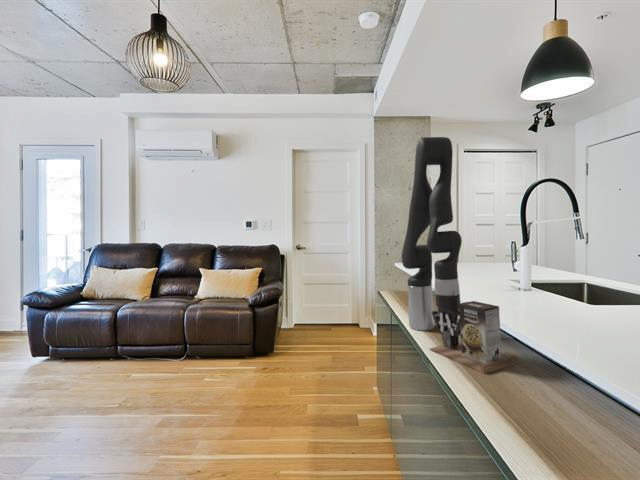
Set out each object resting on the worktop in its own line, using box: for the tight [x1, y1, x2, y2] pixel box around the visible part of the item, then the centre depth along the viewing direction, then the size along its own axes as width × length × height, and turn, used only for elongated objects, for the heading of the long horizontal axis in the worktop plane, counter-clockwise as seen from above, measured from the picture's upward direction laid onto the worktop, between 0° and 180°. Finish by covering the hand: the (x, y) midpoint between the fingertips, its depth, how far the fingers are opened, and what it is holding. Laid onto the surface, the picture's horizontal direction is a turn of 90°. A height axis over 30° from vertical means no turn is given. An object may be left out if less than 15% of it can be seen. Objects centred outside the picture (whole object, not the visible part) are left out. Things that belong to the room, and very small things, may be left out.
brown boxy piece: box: [459, 300, 502, 364], centre depth 96 cm, size 9×6×16 cm
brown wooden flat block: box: [429, 329, 518, 375], centre depth 100 cm, size 21×13×6 cm, turn 22°
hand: (450, 344), depth 107 cm, fingers closed on brown wooden flat block, 3 cm apart
